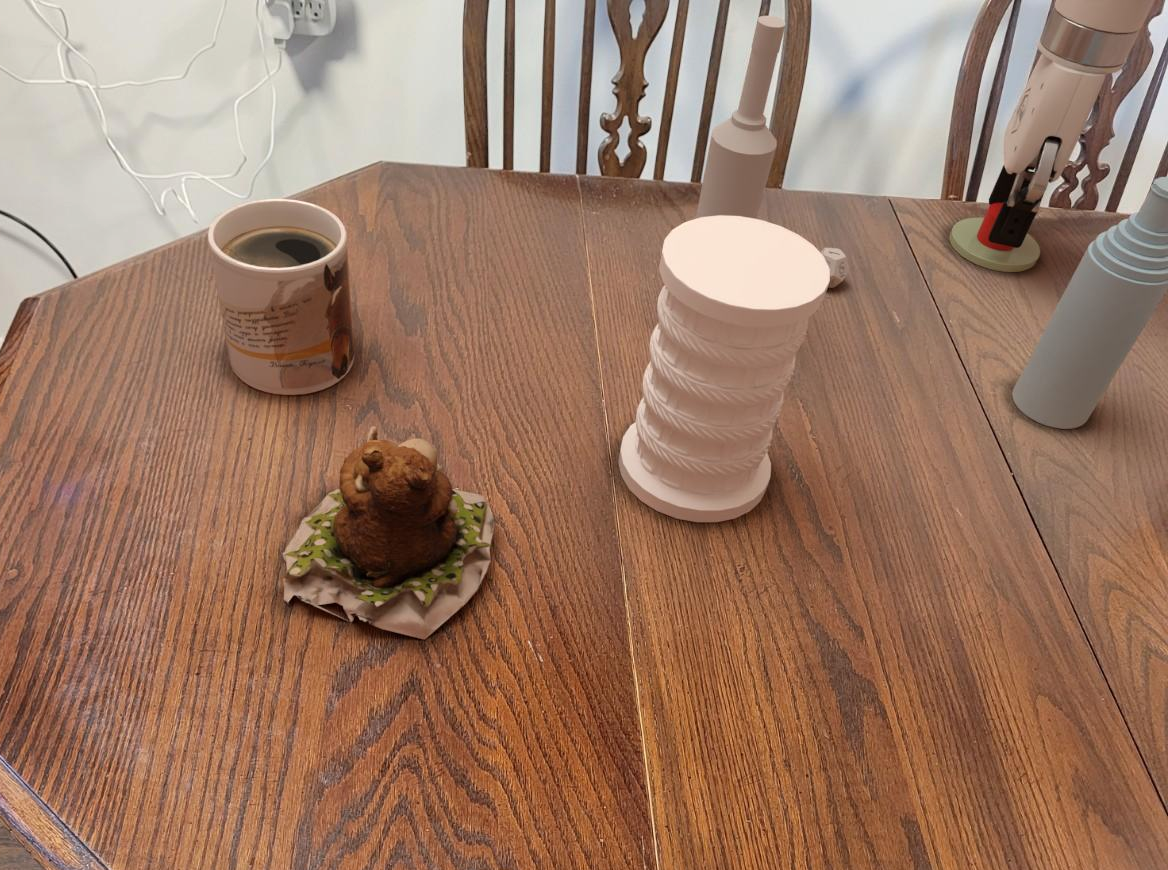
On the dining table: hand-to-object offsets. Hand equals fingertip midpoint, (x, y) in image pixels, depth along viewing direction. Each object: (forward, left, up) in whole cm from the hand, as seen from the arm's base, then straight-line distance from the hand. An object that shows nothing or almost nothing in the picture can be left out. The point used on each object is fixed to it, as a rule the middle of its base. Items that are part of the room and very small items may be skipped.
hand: (1003, 223), depth 105 cm
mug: (+56, +43, -3) cm, 71 cm away
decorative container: (+23, +45, -3) cm, 51 cm away
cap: (0, 0, -2) cm, 2 cm away
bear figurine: (+41, +61, -3) cm, 74 cm away
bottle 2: (-5, +25, -3) cm, 26 cm away
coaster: (0, 0, -3) cm, 3 cm away
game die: (+16, +14, -3) cm, 21 cm away
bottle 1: (+26, +25, -3) cm, 36 cm away
